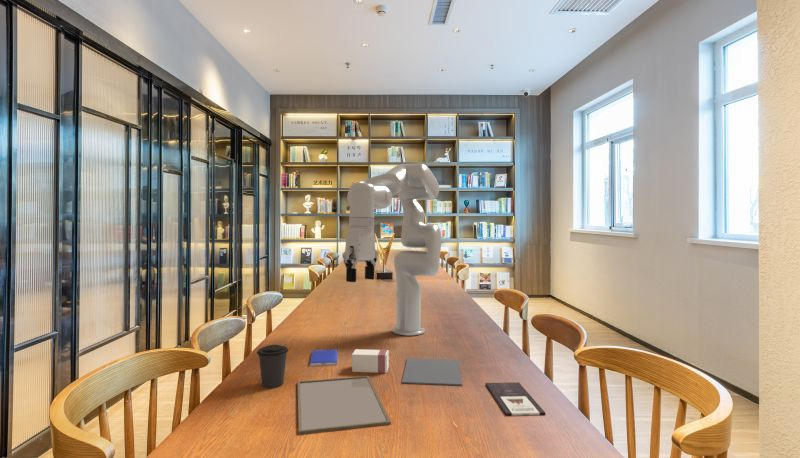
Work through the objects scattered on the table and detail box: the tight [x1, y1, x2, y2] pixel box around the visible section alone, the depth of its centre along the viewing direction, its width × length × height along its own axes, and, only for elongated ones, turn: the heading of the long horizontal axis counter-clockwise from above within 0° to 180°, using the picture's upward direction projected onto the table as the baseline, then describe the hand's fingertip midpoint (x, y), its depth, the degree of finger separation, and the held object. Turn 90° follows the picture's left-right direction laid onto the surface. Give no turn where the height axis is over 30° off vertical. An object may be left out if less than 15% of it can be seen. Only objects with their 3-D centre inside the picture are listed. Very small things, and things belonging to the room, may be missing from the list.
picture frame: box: [297, 375, 392, 435], centre depth 104 cm, size 19×1×28 cm
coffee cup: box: [256, 344, 289, 389], centre depth 114 cm, size 8×8×10 cm
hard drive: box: [309, 348, 339, 367], centre depth 136 cm, size 2×8×12 cm
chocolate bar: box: [485, 382, 546, 417], centre depth 106 cm, size 9×1×18 cm
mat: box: [401, 357, 463, 387], centre depth 125 cm, size 20×16×1 cm
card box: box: [351, 348, 390, 374], centre depth 126 cm, size 10×5×5 cm, turn 85°
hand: (360, 280), depth 131 cm, fingers open, 9 cm apart
